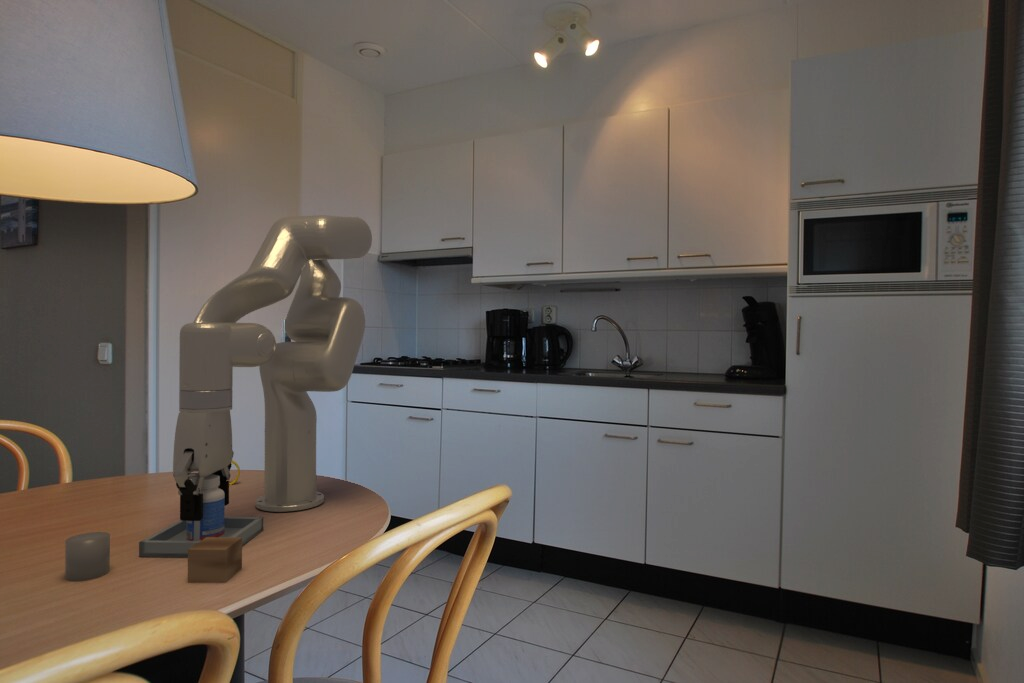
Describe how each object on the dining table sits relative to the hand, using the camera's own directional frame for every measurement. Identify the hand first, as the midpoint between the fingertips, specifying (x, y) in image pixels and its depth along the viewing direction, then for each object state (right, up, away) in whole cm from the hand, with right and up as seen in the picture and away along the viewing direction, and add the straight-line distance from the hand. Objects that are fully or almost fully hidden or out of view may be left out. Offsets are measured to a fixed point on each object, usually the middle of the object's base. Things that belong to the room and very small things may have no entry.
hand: (205, 511), depth 96 cm
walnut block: (+8, -5, -13) cm, 16 cm away
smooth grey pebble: (-10, -5, -13) cm, 17 cm away
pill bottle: (0, -4, 0) cm, 4 cm away
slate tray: (0, -5, 0) cm, 5 cm away
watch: (-15, -5, +38) cm, 41 cm away
